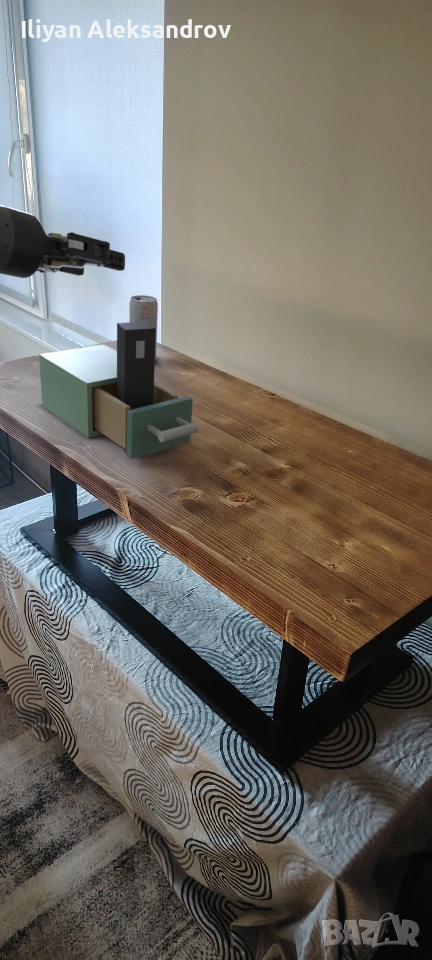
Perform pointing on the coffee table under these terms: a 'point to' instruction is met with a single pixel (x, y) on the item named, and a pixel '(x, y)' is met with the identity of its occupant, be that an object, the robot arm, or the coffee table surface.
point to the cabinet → (76, 383)
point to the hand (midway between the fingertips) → (102, 265)
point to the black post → (135, 363)
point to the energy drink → (144, 311)
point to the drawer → (143, 420)
